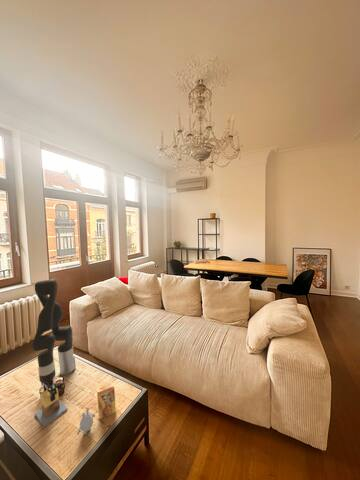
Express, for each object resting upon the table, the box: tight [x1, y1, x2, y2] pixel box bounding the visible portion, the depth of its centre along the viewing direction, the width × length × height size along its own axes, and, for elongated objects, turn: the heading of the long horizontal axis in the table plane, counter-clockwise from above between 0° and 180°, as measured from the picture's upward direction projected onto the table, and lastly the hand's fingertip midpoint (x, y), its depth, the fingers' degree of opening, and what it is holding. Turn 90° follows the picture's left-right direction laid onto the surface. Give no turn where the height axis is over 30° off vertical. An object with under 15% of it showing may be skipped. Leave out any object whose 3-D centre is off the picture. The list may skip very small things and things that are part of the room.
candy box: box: [96, 383, 117, 420], centre depth 113 cm, size 9×4×15 cm, turn 116°
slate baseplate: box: [34, 399, 68, 428], centre depth 115 cm, size 12×12×1 cm
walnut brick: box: [40, 398, 60, 418], centre depth 115 cm, size 7×5×6 cm
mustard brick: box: [39, 387, 60, 408], centre depth 114 cm, size 7×5×6 cm
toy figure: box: [77, 408, 96, 436], centre depth 104 cm, size 11×6×12 cm, turn 154°
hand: (49, 396), depth 114 cm, fingers open, 8 cm apart
